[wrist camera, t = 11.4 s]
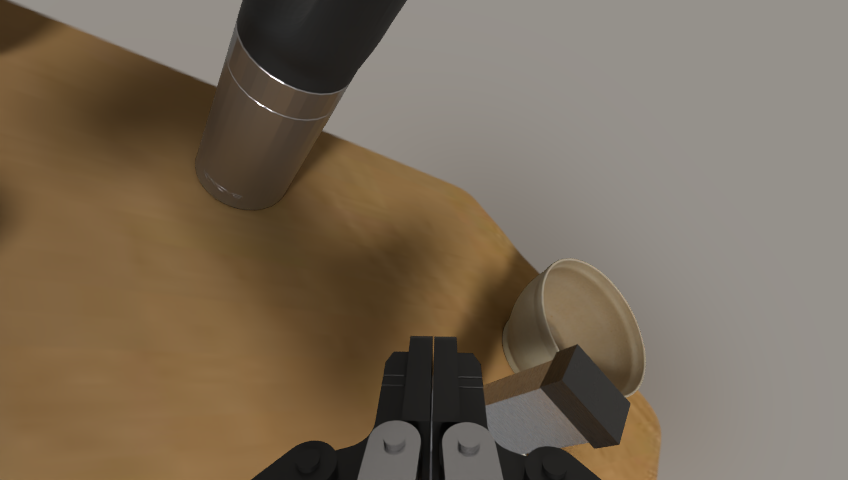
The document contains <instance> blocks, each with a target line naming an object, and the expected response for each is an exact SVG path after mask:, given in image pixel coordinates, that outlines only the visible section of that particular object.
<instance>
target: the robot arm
mask: <svg viewBox="0 0 848 480" xmlns="http://www.w3.org/2000/svg"><path fill="white" fill-rule="evenodd" d="M406 1H407V0H243V2H242V4H241V8H240V11H239V14H238V18H237V21H236V25H235V28H234V32H233V35H232V38H231V42H230V45H229V48H228V52H227V56H226V59H225V62H224V66H223V69H222V73H221V76H220V79H219V83H218V86H217V89H216V93H215V96H214V99H213V103H212V106H211V109H210V113H209V116H208V120H207V123H206V126H205V130H204V133H203V136H202V139H201V143H200V146H199V150H198V153H197V156H196V161H195V169H196V173H197V176H198V178H199V180H200V182H201V184H202V185H203V187H204V188H205V189H206V190H207V192H209V193H210V194H211V195H212V196H213V197H215V198H216V199H218V200H219V201H221V202H223V203H224V204H227V205H229V206H232V207H235V208H239V209H244V210H258V209H264V208H267V207H270V206H272V205H274V204H275V203H277V202H278V201H279V200H280V199H281V198H282V197H283V196H284V194H285V192H286V190H287V189H288V187H289V185H290V184H291V182H292V180H293V179H294V177H295V175H296V174H297V172H298V170H299V169H300V167H301V165H302V164H303V162H304V160H305V159H306V157H307V155H308V153H309V152H310V150H311V148H312V147H313V145H314V143H315V142H316V140H317V138H318V136H319V135H320V133H321V131H322V130H323V128H324V126H325V125H326V123H327V121H328V120H329V118H330V116H331V114H332V113H333V111H334V109H335V107H336V106H337V104H338V102H339V100H340V99H341V97H342V95H343V94H344V92H345V90H346V89H347V87H348V85H349V84H350V82H351V80H352V78H353V77H354V75H355V74H356V72H357V70H358V69H359V68H360V67H361V65H362V64H363V63H364V62H365V60H366V59H367V58H368V57H369V55H370V54H371V53H372V52H373V50H374V49H375V47H376V46H377V45H378V43H379V42H380V41H381V39H382V38H383V36H384V34H385V33H386V31H387V29H388V28H389V26H390V25H391V23H392V22H393V20H394V19H395V17H396V16H397V14H398V13H399V11H400V10H401V8H402V7H403V5H404V4H405V2H406ZM432 372H433V336H411V337H410V345H409V352H393V353H392V355H391V356H390V357H389V359H388V360H387V361H386V363H385V369H384V377H383V381H382V387H381V392H380V398H379V404H378V409H377V415H376V421H375V425H374V428H373V430H372V432H371V433H370V434H369V436H368V437H367V438H365V439H364V440H363V441H361V442H360V443H358V444H356V445H354V446H351V447H347V448H343V449H339V450H336V451H335V450H334V449H333V448H332V447H331V446H330V445H329V444H327V443H325V442H322V441H308V442H304V443H301V444H299V445H297V446H295V447H294V448H292V449H291V450H290V451H288V452H287V453H286V454H284V455H283V456H282V457H280V458H279V459H278V460H276V461H275V462H274V463H273V464H271V465H270V466H269V467H267V468H266V469H265V470H263V471H262V472H261V473H259V474H258V475H257V476H255V477H254V478H253V479H251V480H430V451H431V417H432V480H601V479H600V478H599V477H597V476H596V475H595V474H594V473H593V472H591V471H590V470H589V469H588V468H586V467H585V466H584V465H583V464H582V463H580V462H579V461H578V460H577V459H576V458H574V457H573V456H572V455H571V454H569V453H568V452H566V451H564V450H562V449H560V448H556V447H551V446H543V447H539V448H536V449H534V450H532V451H531V452H530V453H529V454H528V456H525V455H521V454H518V453H515V452H512V451H509V450H507V449H505V448H503V447H502V446H500V445H499V444H498V443H497V442H496V441H495V440H494V438H493V436H492V434H491V433H490V432H489V430H488V425H487V416H486V407H485V399H484V390H483V381H482V373H481V364H480V363H479V361H478V360H477V359H476V357H475V356H474V354H473V353H457V338H456V337H434V373H433V410H432Z"/></svg>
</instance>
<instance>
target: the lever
mask: <svg viewBox="0 0 848 480" xmlns="http://www.w3.org/2000/svg"><path fill="white" fill-rule="evenodd" d="M483 390H484V399H485V407H486V416H487V425H488V430H489V432H490V433H491V434H492V436H493V438H494V440H495V441H496V442H497V443H498V444H499V445H500V446H502V447H503V448H505V449H507V450H509V451H512V452H515V453H518V454H521V455H522V454H527V453H530V452H531V451H532V450H534V449H536V448H539V447H543V446H551V447H556V448H561V447H567V446H572V445H578V444H583V443H590V444H591V445H592V447H593V448H594V449H595V448H602V447H608V446H614V445H619V444H620V440H621V436H622V433H623V429H624V425H625V422H626V418H627V414H628V411H629V407H630V402H629V401H628V400H627V399H626V398H625V397H624V396H623V394H622V393H621V392H620V391H619V390H618V389H617V388H616V387H615V385H614V384H613V383H612V382H611V381H610V380H609V379H608V378H607V376H606V375H605V374H604V373H603V372H602V371H601V370H600V369H599V367H598V366H597V365H596V364H595V363H594V362H593V361H592V360H591V358H590V357H589V356H588V355H587V354H586V353H585V352H584V351H583V349H582V348H581V347H580V346H579V345H578V344H577V345H574V346H571V347H569V348H566V349H563V350H561V351H558V352H556V354H555V356H554V358H553V360H551V361H548V362H546V363H543V364H540V365H537V366H535V367H532V368H529V369H527V370H524V371H521V372H518V373H516V374H513V375H510V376H508V377H505V378H502V379H500V380H497V381H494V382H491V383H489V384H486V385H483Z"/></svg>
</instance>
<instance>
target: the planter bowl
mask: <svg viewBox="0 0 848 480" xmlns="http://www.w3.org/2000/svg"><path fill="white" fill-rule="evenodd" d="M502 341H503V349H504V353H505V356H506V359H507V361H508V363H509V365H510V367H511V368H512V370H513V371H514V373H515V374H516V373H518V372H521V371H524V370H527V369H529V368H532V367H535V366H537V365H540V364H543V363H546V362H548V361H551V360H553V358H554V356H555V354H556V352H558V351H561V350H563V349H566V348H569V347H571V346H574V345H577V344H578V345H579V346H580V347H581V348H582V349H583V351H584V352H585V353H586V354H587V355H588V356H589V357H590V358H591V360H592V361H593V362H594V363H595V364H596V365H597V366H598V367H599V369H600V370H601V371H602V372H603V373H604V374H605V375H606V376H607V378H608V379H609V380H610V381H611V382H612V383H613V384H614V385H615V387H616V388H617V389H618V390H619V391H620V392H621V393H622V394H623V396H624V397H625V398H626V397H629V396H630V395H632V394H634V393H635V392H636V391H637V390H638V388H639V387H640V385H641V383H642V381H643V378H644V373H645V367H646V354H645V347H644V344H643V339H642V336H641V332H640V329H639V326H638V323H637V321H636V319H635V316H634V314H633V312H632V310H631V308H630V306H629V305H628V303H627V301H626V300H625V298H624V297H623V295H622V294H621V293H620V291H619V290H618V289H617V288H616V286H615V285H614V284H613V283H612V282H611V281H610V280H609V279H608V278H607V277H606V276H605V275H604V274H603V273H601V272H600V271H599V270H598V269H596V268H595V267H593V266H592V265H590V264H588V263H586V262H584V261H581V260H577V259H571V258H566V259H561V260H558V261H556V262H554V263H553V264H551V265H550V266H549V267H548V268H547V269H546V270H545V271H544V272H542V273H541V274H539V275H538V276H537V277H536V278H534V279H533V280H532V281H531V282H530V283H529V284H528V285H527V286H526V287H525V289H524V290H523V291H522V293H521V294H520V295H519V297H518V299H517V301H516V303H515V305H514V307H513V309H512V312H511V315H510V319H509V320H508V322H507V323H506V325H505V327H504V330H503V340H502Z"/></svg>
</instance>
